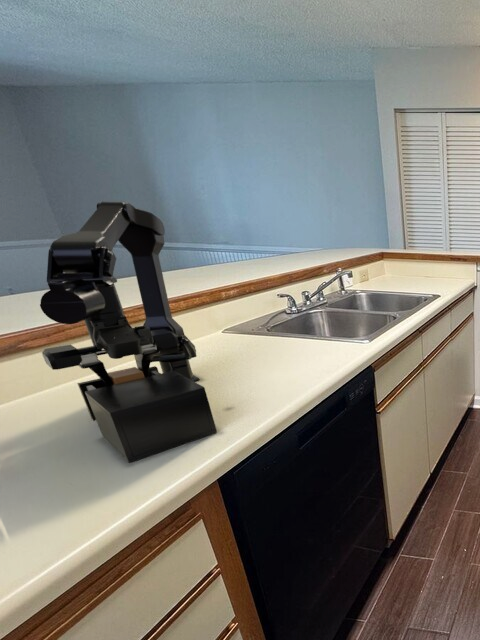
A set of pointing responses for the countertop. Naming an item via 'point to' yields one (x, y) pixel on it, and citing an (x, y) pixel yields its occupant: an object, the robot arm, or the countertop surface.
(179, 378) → the black slanted wedge box
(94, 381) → the rack
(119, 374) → the block
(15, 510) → the countertop surface
